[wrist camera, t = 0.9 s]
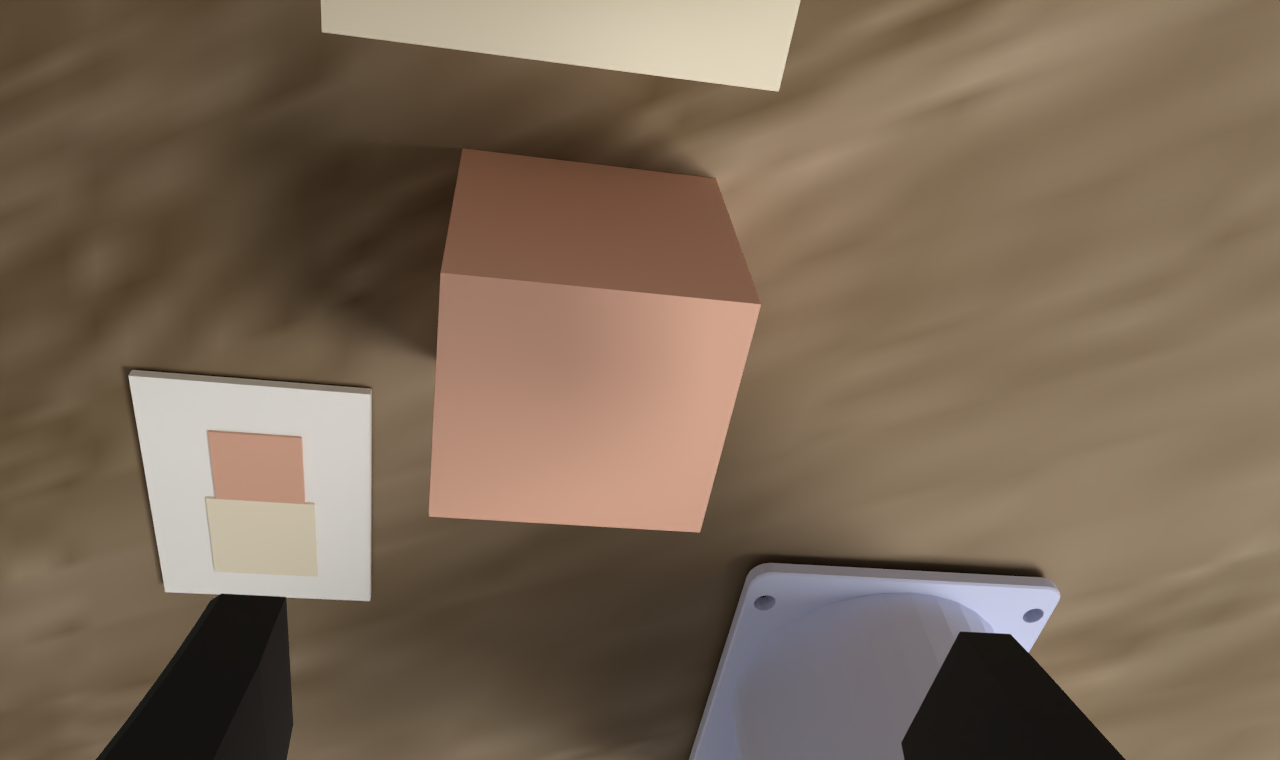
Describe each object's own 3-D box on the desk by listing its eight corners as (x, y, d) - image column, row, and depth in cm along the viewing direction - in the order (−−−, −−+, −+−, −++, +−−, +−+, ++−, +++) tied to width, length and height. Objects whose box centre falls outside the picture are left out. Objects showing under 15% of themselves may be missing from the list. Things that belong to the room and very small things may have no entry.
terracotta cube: (670, 379, 20) (699, 532, 16) (450, 360, 19) (429, 516, 16) (714, 176, 17) (760, 304, 14) (462, 146, 17) (440, 272, 13)
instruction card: (371, 594, 23) (369, 603, 22) (167, 585, 22) (164, 594, 22) (371, 388, 19) (369, 396, 19) (132, 370, 19) (127, 377, 18)
